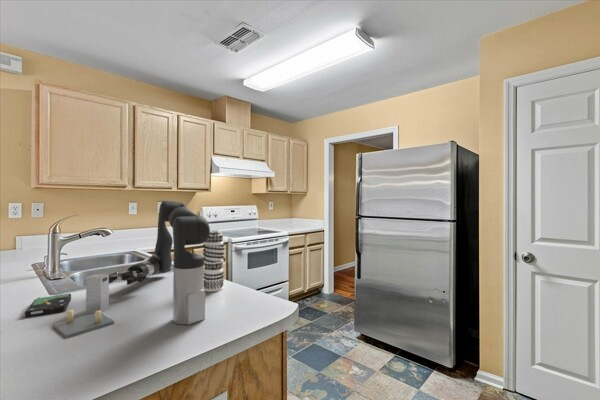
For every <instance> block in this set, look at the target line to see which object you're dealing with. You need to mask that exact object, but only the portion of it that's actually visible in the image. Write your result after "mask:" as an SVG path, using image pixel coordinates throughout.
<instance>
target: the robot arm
mask: <svg viewBox="0 0 600 400" xmlns="http://www.w3.org/2000/svg"><path fill="white" fill-rule="evenodd" d="M166 222H168V223H169V225H170V226H171V228H172V234H171V233H170V231H169V230H168V227H167V225H166ZM210 231H211V228H210V225H209V222H208V220H207V219H206V217H204V216H200V215H199V214H198V215H197V214H196V213H194V212H193V211H192V210H191V209H189V208H188V206H187V205H186V204H185V203H184V202H181V201H173V200H172V201H171V200H163V201H161V203H160V206H159V210H158V218H157V233H156V234H157V235H156V236H157V237H156V243H155V247H154V254H153V255H151V256H150V257H149V259H147V260H145V261H142V262H138V263H135V264H132V265H131V266H129V267H128V268H127V270H124V271H123V272H120V271H115V272H113V273H110V274H109V284H112V283H114V282H115V283H116V282H118V283H120V282H121V283H122V282H126V285H128V286H130V285H132V284H134V283H135V284H136V283H142V282H145V281H147V280H148V279H149V277H151V276H153V275H155V274H157V273H158V272H160V273H162V274H163V273H167V272H168V271H170V269H171V267H172V264H173V276H172V277H173V279H172V280H173V283H172V284H173V285H172V286H173V289H172V290H173V291H172V292H173V293H172V295H173V296H172V322H173V323H174V324H177V325H187V326H190V325H193V324H195V323H198V322H200V321H203V320H205V319H206V291H205V290H204V280H205V279H204V276H205V275H204V268H205V263H204V255H201V254H198V253H193V252H191V251H188V250H187V249H186V247H185V246H193V245H201V244H202V245H203V244H204V242H206V241H207V240H208V238H209V234H210ZM172 248H173V260H172ZM172 261H173V263H172Z"/></svg>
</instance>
